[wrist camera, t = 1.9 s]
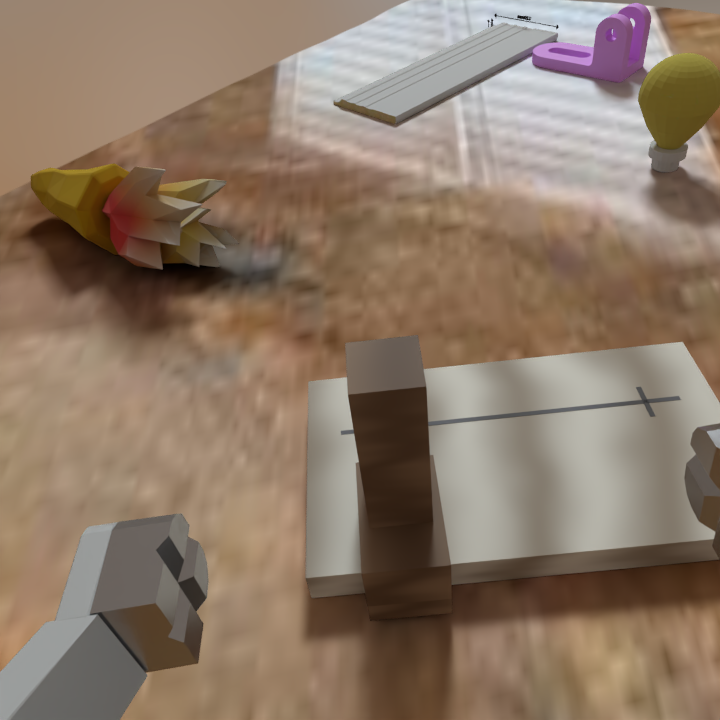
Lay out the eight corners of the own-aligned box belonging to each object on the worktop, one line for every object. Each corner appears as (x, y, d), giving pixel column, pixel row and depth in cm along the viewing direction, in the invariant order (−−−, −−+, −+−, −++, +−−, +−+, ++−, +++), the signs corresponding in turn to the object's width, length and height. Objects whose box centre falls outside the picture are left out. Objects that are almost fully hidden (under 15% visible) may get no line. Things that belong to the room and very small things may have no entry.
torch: (77, 238, 72) (242, 274, 58) (1, 240, 66) (166, 281, 52) (75, 158, 70) (246, 175, 56) (-4, 152, 64) (167, 170, 50)
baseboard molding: (326, 106, 84) (396, 130, 77) (323, 82, 82) (394, 104, 75) (486, 30, 98) (557, 45, 91) (486, 8, 96) (559, 21, 89)
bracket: (642, 68, 81) (653, 5, 76) (619, 84, 78) (629, 19, 74) (547, 51, 88) (552, -8, 84) (523, 65, 86) (526, 5, 81)
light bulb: (719, 164, 62) (750, 52, 56) (673, 191, 60) (700, 77, 53) (656, 143, 67) (677, 36, 60) (611, 167, 64) (628, 58, 57)
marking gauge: (370, 620, 33) (335, 442, 24) (359, 437, 42) (331, 256, 33) (452, 613, 33) (448, 430, 24) (424, 431, 42) (413, 246, 33)
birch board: (311, 598, 35) (305, 577, 34) (313, 402, 45) (308, 381, 44) (784, 553, 34) (797, 530, 33) (675, 364, 44) (682, 341, 43)
